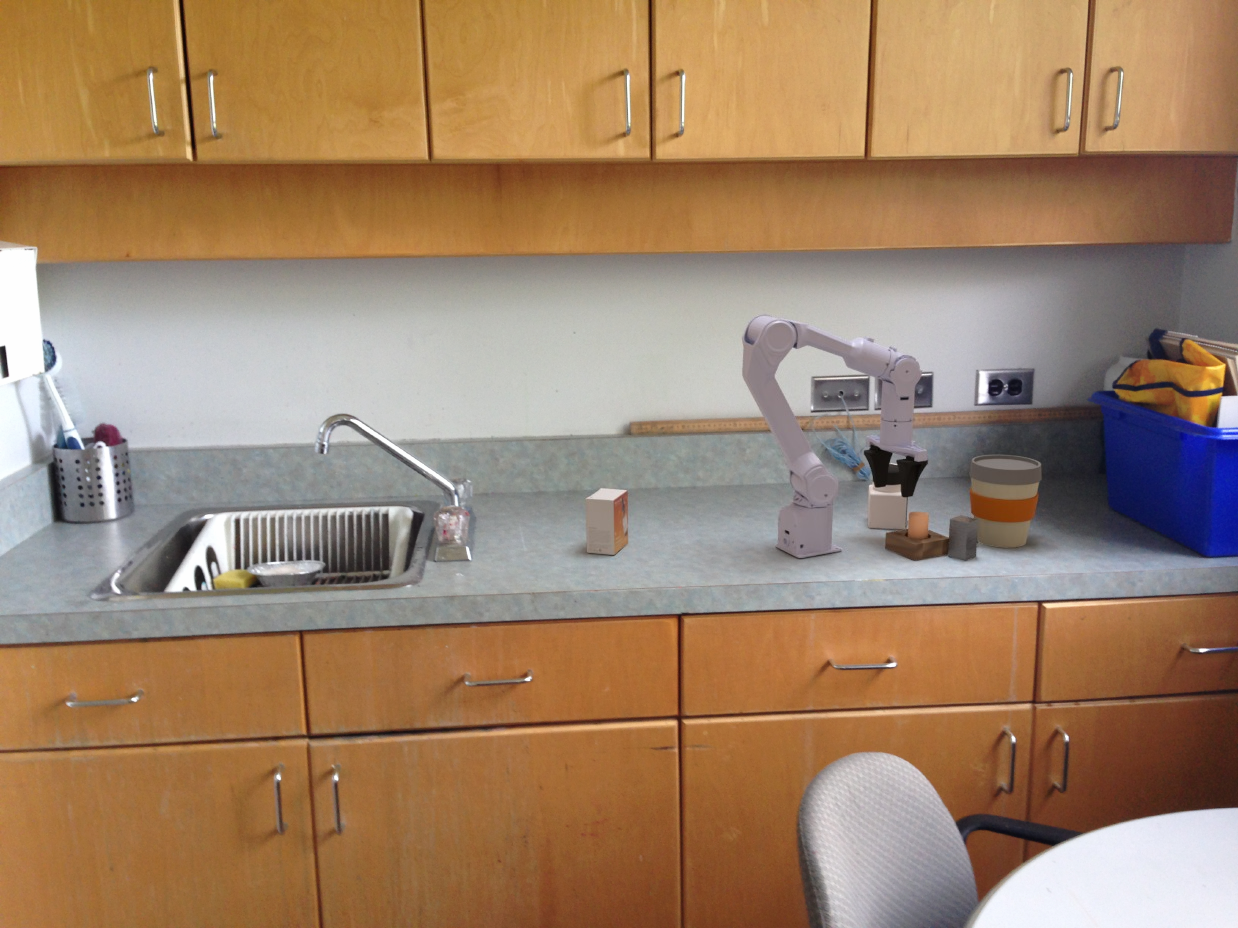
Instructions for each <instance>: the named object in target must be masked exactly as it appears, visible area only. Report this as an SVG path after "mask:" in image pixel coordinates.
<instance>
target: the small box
mask: <svg viewBox="0 0 1238 928" xmlns="http://www.w3.org/2000/svg"><path fill="white" fill-rule="evenodd" d="M628 494H629V493H628V490H626V489H616V488H604V487H601V488H599V489H598V490H596V491H595V492H594V493H592V494H591V495H590V496H588V497H585V501H584V502H585V529H586V530H585V531H586V534H585V535H586V553H587V554H599V555H608V556H609V555H610V556H615V555H616V554H617V553H618V552H619V551H620V550H621V549H623V548H624V547H626V546H627V545H628V544H629V503H628V502H629V500H628V499H629V498H628V496H629V495H628Z"/></svg>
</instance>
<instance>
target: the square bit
mask: <svg viewBox="0 0 1238 928" xmlns="http://www.w3.org/2000/svg"><path fill="white" fill-rule="evenodd" d="M978 521H979V519H976V518H974V517H972V516H966V515H962V514H960V515H958V516H954V517H952V518H949V530H948V537H949V543H948V555H947V557H948V558H952V559H956V560H960V561H963V562H967V561H969V560H972V559H974V558H976V557H977V549H978V548H977V547H978V541H977V536H978Z"/></svg>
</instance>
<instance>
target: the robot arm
mask: <svg viewBox="0 0 1238 928" xmlns="http://www.w3.org/2000/svg"><path fill="white" fill-rule="evenodd" d="M750 319H751V320H750V321H749V322H748V323H747V325H746V328H745V330H744V332H743V334H742V336H741V340H742V345H743V350H742V351H743V352H742V368H741V369H742V375H741V376H742V378H743V380H744V382H745V385H746V386H747V388H748V390H749V392H750V394H751V396H752V398H753V400H754V402H755V404H756V405H757V407H758V409H759V411H760V412H761V415H762V417H763V418H764V421H765V423H766V424H767V426H768V428H769V430H770V432H771V434H772V435H773V438H774V439H775V442H776V443H777V445H778V447H779V449H780V450H781V452H782V455H783V457H784V459H785V466H786V468H787V471H788V479H789V480H788V481H789V482H788V483H789V484H790V487H791V489H792V490H793V491H794V494H793V496H792V497H793V498H792V502H791V503H790V504H788V505H784V506H782V508H781V509H780V510H779V513H778V518H777V521H778V523H777V543H775V547H776V548H778V549H779V550H782V551H783V552H786V553H787V554H789V555H792V556H793V557H796V558H798V559H804V558H810V557H814V556H820V555H825V554H831V553H836V552H841V551H842V550H843V548H842V547H840V546H838V545H836V544H833V519H834V518H833V517H834V501H835V499H836V498H837V497H838V494H839V490H840V485H839V480H838V479H837V478H836V476H835V475H834V474H832V473H831V472H829V471H828V470H827V469H826V467H825V465H824V463H823V462H822V460H820V459H819V457H818V455H816V453H815V451H813V448H812V447H811V445H810V443H809V441H808V439H807V437H806V435H805V433H804V431H803V429H802V427H801V426H800V423H799V421H798V420H797V418H796V416H795V414H794V411H793V410H792V408H791V407H790V404H789V402H788V400H787V398H786V396H785V394H784V393H783V391H782V389H781V386H780V385H779V383H778V381H777V379H776V373H777V371H778V368H779V366H780V364H781V362H782V361H783V360H784V359H785V358H786V357H787V355H788V354H789V353H790V352H791V351H792V349H796V350H799V349H801V348H804V347H806V346H808V347H811V348H814V349H817V350H819V351H823V352H826V353H829V354H833V355H835V356H838V357H842V359H843V362H844V364H845V366H846V367H847V368H848V369H850V370H854V371H856V372H859V373H861V374H864V375H867V376H869V377H873V378H876V379H877V380H879V379H880V381H881V382H882V384H881V385H882V387H881V400H880V401H881V405H880V422H879V423H880V425H879V427H880V430H879V436H878V435H875V434H874V435H867V436H865V437H866V438H865V442H866V443H865V446H866V447H867V448H868V449H864V450H863V455H864V457H865V458H866V461H867V463H868V465H869V468H870V472H871V476H872V482H873V481H874V486H875V487H876V488H880V487H886V483H887V477H888V468H889V464H890V463H891V459H892V457H893V455H894V454H895V455H898V456H902V457H904V458H900V459H899V458H898V459H896V461H895V462H896V463H895V464H897V465H898V468H899V472H900V479H901V495H902V497H904V498H905V497H908V498H911V497H914V494H915V490H916V487H917V483H918V481H919V478H920V477H921V475H922V473H923V471H924V469H926V466H928V464H929V460H928V459H927V458H928V457H927V456H928V450H927V449H925V448H923V447H921V446H919V445H918V444H917V442H916V440H913V431H914V410H915V395H916V394H915V392H916V386H917V384H918V382H919V381H920V380H921V378H922V374H923V370H922V369H921V367H920V366H921V365H920V363H919V361H918V360H917V359H916V357H914V356H912V355H910V354H906V353H903V352H899V351H898V348H897V347H894V346H892V345H891V346H889V347H888V346H884V345H882V344H879V343H876V342H874V341H875V338H873V337H870V336H867V335H866V336H864V337H860V336H858V337H855V338H853V339H851V340H848V339H845V338H843V337H840V336H838V335H836V334H833V333H831V332H829V331H826V330H823V329H821V328H818V327H816V326H813V325H811V324H809V323H805V322H802V321H798V320H792V319H787V318H782V317H774V316H772V315H769V314H766V313H763V314H762V313H761V314H758V315H755V316H754V317H753V318H750Z"/></svg>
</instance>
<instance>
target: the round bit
mask: <svg viewBox="0 0 1238 928" xmlns="http://www.w3.org/2000/svg"><path fill="white" fill-rule="evenodd" d="M929 520H930V514H929V513H927V512H923V511H910V512H908V521H907V522H908V524H907V529H908V537H909V538H911V539H928V530H929Z"/></svg>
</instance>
